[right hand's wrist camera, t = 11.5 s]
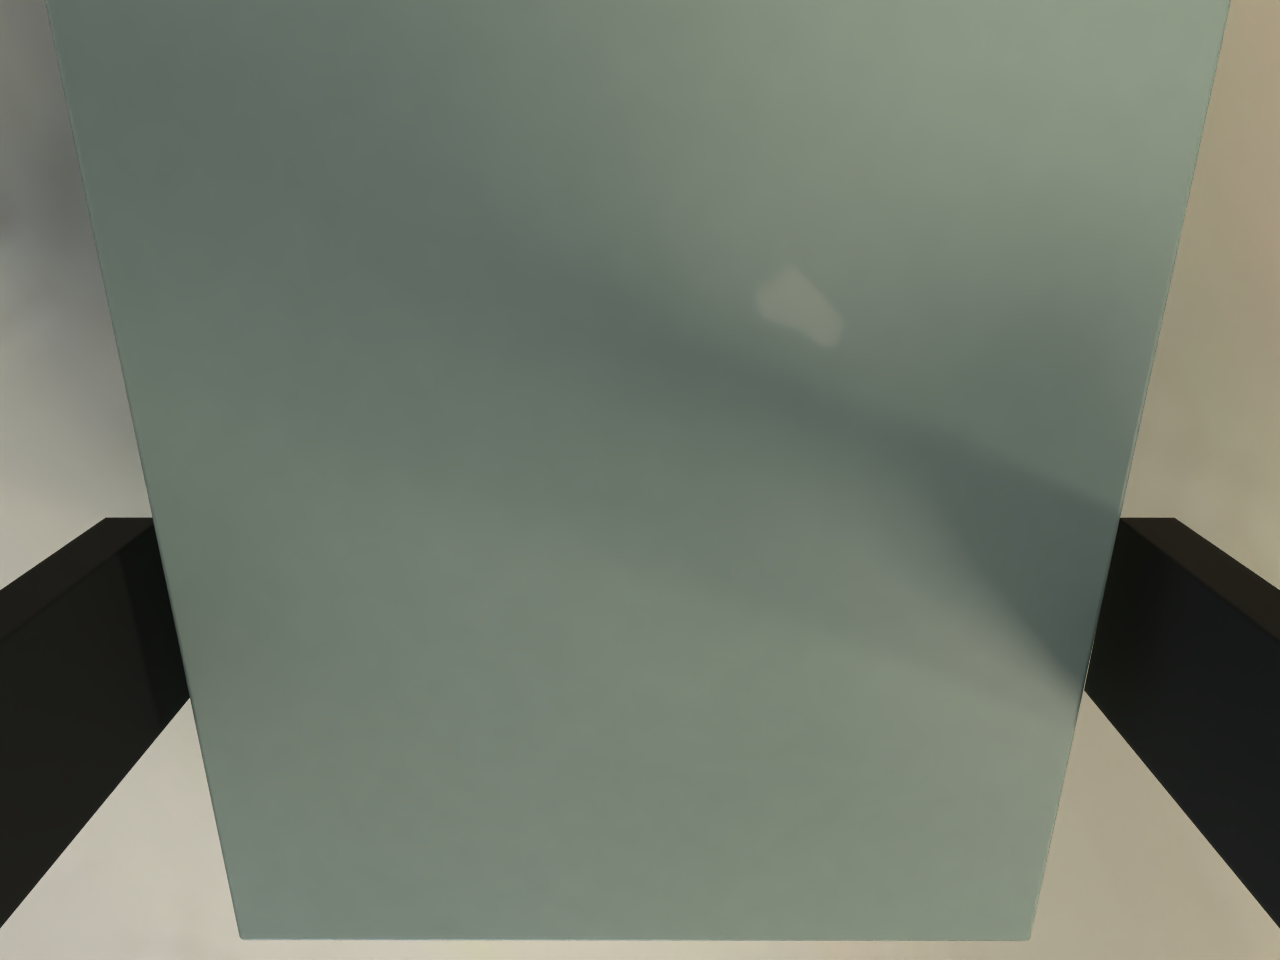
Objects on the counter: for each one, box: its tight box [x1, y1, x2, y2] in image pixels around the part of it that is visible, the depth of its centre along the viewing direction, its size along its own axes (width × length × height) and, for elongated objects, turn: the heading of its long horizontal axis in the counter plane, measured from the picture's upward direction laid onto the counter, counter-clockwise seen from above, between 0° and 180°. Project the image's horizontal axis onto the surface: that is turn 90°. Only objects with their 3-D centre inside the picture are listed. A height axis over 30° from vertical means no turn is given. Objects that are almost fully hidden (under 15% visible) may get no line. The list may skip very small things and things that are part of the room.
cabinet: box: [45, 0, 1231, 941], centre depth 14 cm, size 18×11×10 cm, turn 0°
